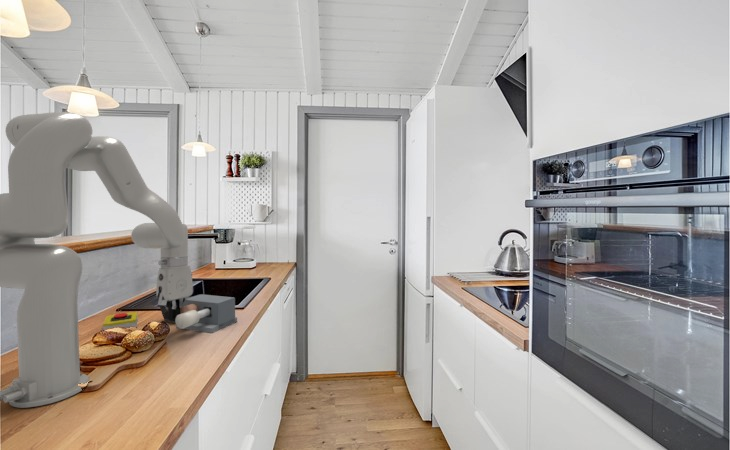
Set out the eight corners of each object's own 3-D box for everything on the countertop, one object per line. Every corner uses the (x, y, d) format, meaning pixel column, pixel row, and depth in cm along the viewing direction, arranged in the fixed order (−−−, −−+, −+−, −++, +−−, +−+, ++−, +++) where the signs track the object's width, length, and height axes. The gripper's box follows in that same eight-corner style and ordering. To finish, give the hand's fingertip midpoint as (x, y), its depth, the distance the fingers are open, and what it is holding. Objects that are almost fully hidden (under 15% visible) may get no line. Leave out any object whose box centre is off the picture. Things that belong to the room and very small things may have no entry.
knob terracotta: (186, 322, 110) (185, 308, 110) (175, 320, 112) (175, 307, 111) (212, 312, 121) (212, 299, 121) (202, 311, 123) (202, 298, 122)
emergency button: (101, 322, 108) (106, 310, 121) (101, 335, 109) (106, 323, 121) (136, 317, 113) (138, 306, 126) (136, 330, 113) (138, 318, 126)
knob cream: (186, 329, 103) (186, 315, 103) (175, 328, 104) (175, 313, 104) (215, 318, 114) (214, 305, 114) (204, 317, 115) (204, 304, 115)
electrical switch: (188, 321, 121) (185, 296, 120) (173, 327, 117) (170, 300, 116) (173, 317, 126) (170, 292, 125) (159, 322, 122) (155, 297, 121)
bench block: (211, 333, 110) (211, 305, 109) (175, 327, 114) (175, 301, 114) (237, 321, 121) (236, 296, 121) (203, 317, 126) (202, 293, 125)
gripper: (162, 266, 100) (162, 328, 100) (202, 260, 114) (202, 315, 115) (143, 264, 103) (143, 326, 103) (184, 259, 117) (184, 313, 117)
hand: (174, 320), depth 109 cm, fingers closed
